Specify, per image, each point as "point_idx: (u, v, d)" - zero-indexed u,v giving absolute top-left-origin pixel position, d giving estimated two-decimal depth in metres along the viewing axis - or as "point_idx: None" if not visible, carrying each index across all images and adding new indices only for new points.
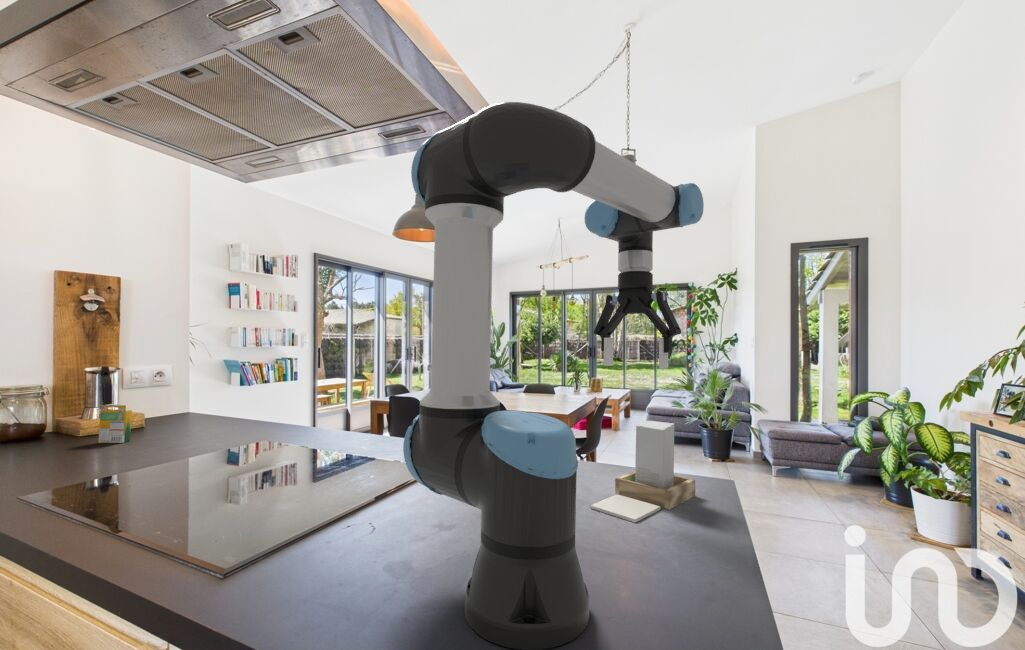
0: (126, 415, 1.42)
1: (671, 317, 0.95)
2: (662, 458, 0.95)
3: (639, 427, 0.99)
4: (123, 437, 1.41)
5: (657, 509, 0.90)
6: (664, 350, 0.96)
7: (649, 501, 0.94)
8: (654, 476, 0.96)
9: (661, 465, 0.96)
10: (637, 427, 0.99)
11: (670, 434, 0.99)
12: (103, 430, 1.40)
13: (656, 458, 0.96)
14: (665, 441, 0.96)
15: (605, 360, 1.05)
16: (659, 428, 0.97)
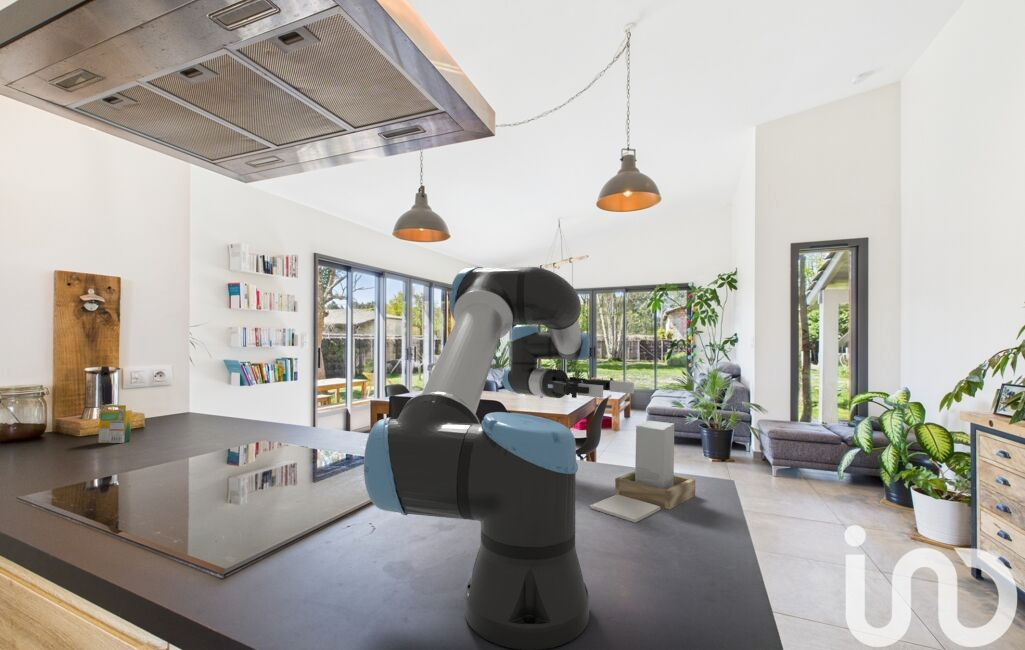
0: (126, 415, 1.42)
1: None
2: (662, 458, 0.95)
3: (639, 427, 0.99)
4: (123, 437, 1.41)
5: (657, 509, 0.90)
6: None
7: (649, 501, 0.94)
8: (654, 476, 0.96)
9: (661, 465, 0.96)
10: (637, 427, 0.99)
11: (670, 434, 0.99)
12: (103, 430, 1.40)
13: (656, 458, 0.96)
14: (665, 441, 0.96)
15: (597, 385, 1.04)
16: (659, 428, 0.97)
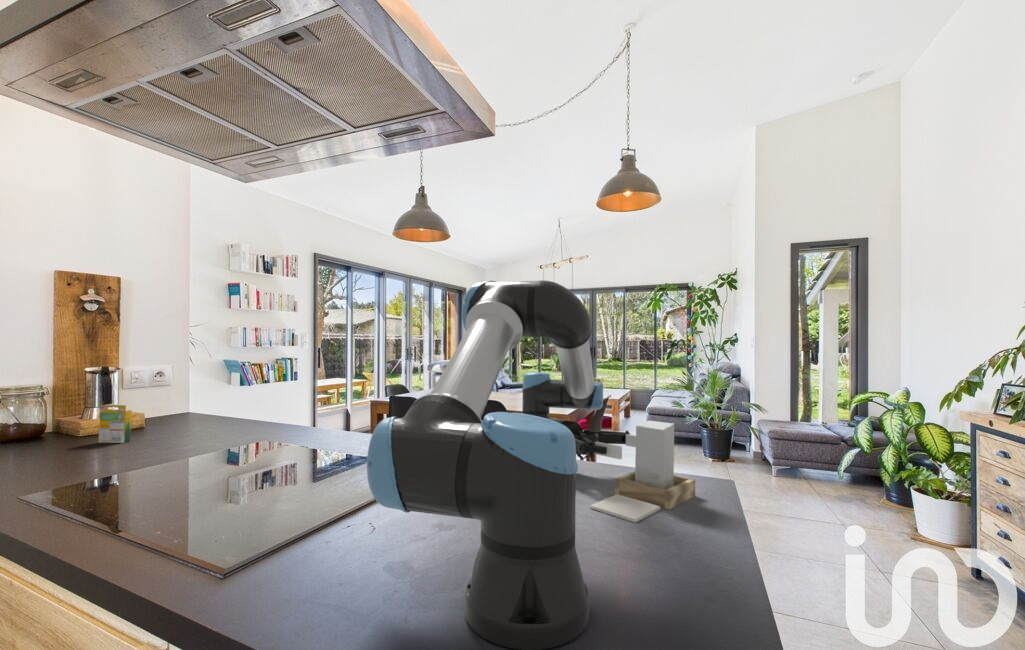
0: (126, 415, 1.42)
1: None
2: (662, 458, 0.95)
3: (639, 427, 0.99)
4: (123, 437, 1.41)
5: (657, 509, 0.90)
6: None
7: (649, 501, 0.94)
8: (654, 476, 0.96)
9: (661, 465, 0.96)
10: (637, 427, 0.99)
11: (670, 434, 0.99)
12: (103, 430, 1.40)
13: (656, 458, 0.96)
14: (665, 441, 0.96)
15: (616, 445, 1.00)
16: (659, 428, 0.97)
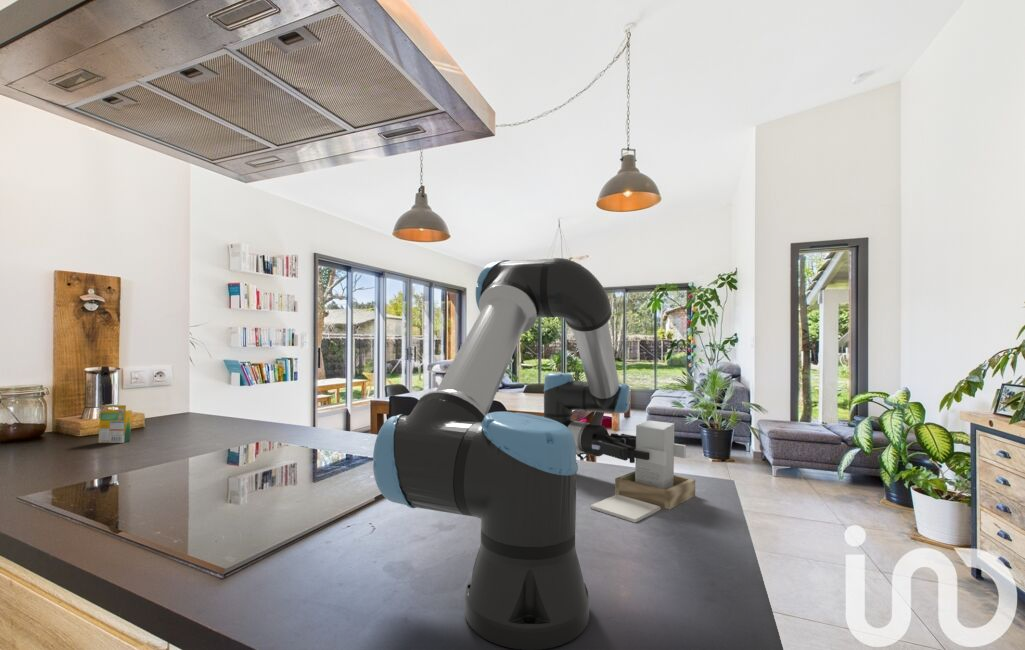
0: (126, 415, 1.42)
1: None
2: None
3: (639, 427, 0.99)
4: (123, 437, 1.41)
5: (657, 509, 0.90)
6: None
7: (649, 501, 0.94)
8: (654, 475, 0.96)
9: None
10: (637, 427, 0.99)
11: (670, 434, 0.99)
12: (103, 430, 1.40)
13: None
14: (665, 440, 0.96)
15: (660, 451, 0.95)
16: (659, 428, 0.97)
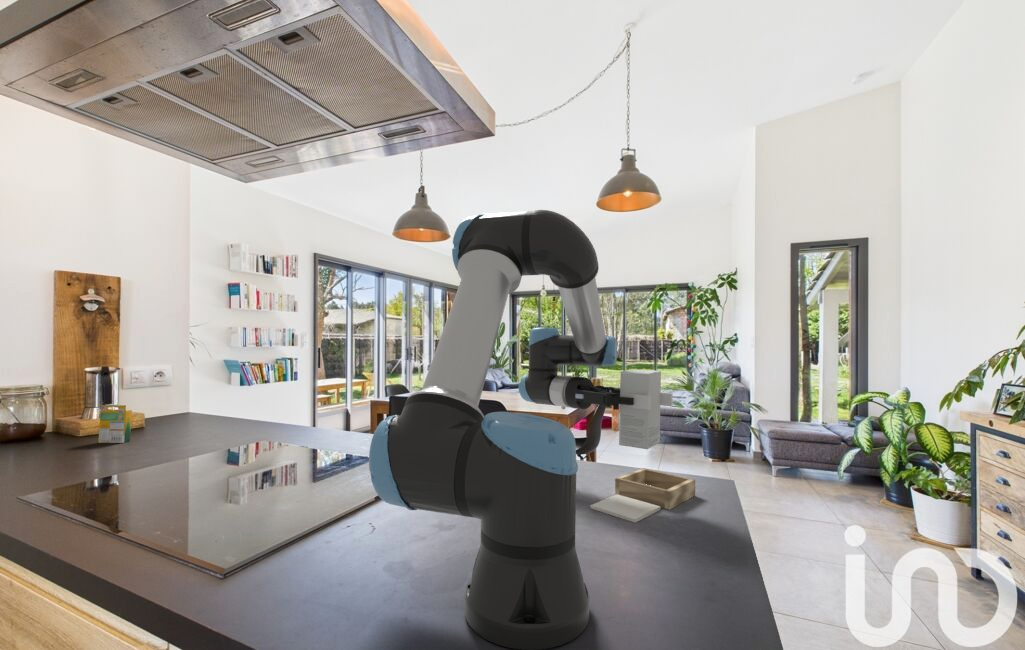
0: (126, 415, 1.42)
1: None
2: None
3: (623, 372, 0.95)
4: (123, 437, 1.41)
5: (657, 509, 0.90)
6: None
7: (649, 501, 0.94)
8: (639, 422, 0.92)
9: (645, 410, 0.92)
10: (621, 373, 0.95)
11: (656, 380, 0.95)
12: (103, 430, 1.40)
13: None
14: (650, 385, 0.92)
15: (644, 395, 0.91)
16: (644, 372, 0.93)
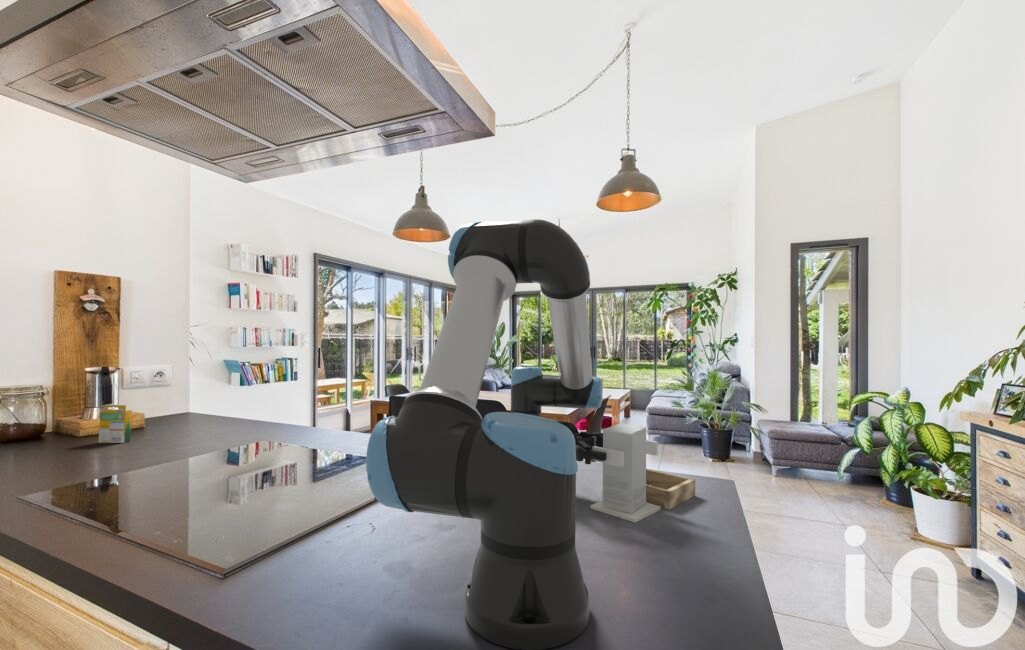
0: (126, 415, 1.42)
1: None
2: (630, 465, 0.87)
3: (606, 431, 0.90)
4: (123, 437, 1.41)
5: (657, 509, 0.90)
6: None
7: (649, 501, 0.94)
8: (622, 484, 0.88)
9: (629, 472, 0.87)
10: (604, 431, 0.90)
11: (640, 438, 0.90)
12: (103, 430, 1.40)
13: (624, 465, 0.87)
14: (634, 446, 0.87)
15: (617, 451, 0.85)
16: (627, 432, 0.88)
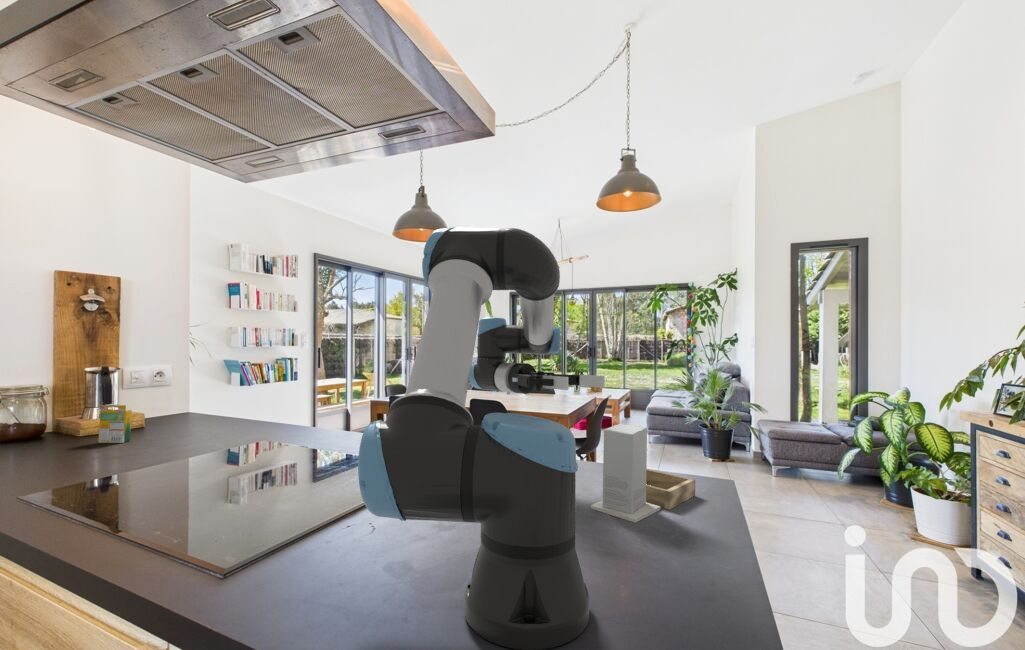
0: (126, 415, 1.42)
1: None
2: (631, 465, 0.87)
3: (607, 431, 0.90)
4: (123, 437, 1.41)
5: (657, 509, 0.90)
6: None
7: (649, 501, 0.94)
8: (623, 484, 0.88)
9: (629, 472, 0.87)
10: (605, 431, 0.90)
11: (641, 439, 0.90)
12: (103, 430, 1.40)
13: (625, 465, 0.87)
14: (634, 446, 0.87)
15: (562, 376, 0.96)
16: (628, 432, 0.88)
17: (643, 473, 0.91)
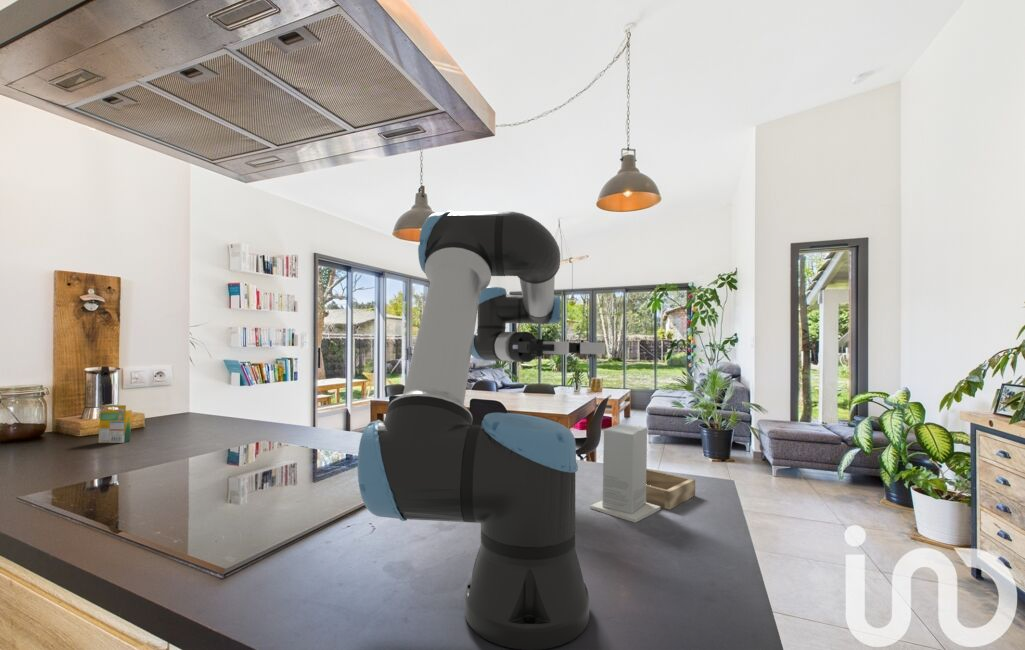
0: (126, 415, 1.42)
1: None
2: (631, 465, 0.87)
3: (607, 431, 0.90)
4: (123, 437, 1.41)
5: (657, 509, 0.90)
6: None
7: (649, 501, 0.94)
8: (623, 484, 0.88)
9: (629, 472, 0.87)
10: (605, 431, 0.90)
11: (641, 439, 0.90)
12: (103, 430, 1.40)
13: (625, 465, 0.87)
14: (634, 446, 0.87)
15: None
16: (628, 432, 0.88)
17: (643, 473, 0.91)
